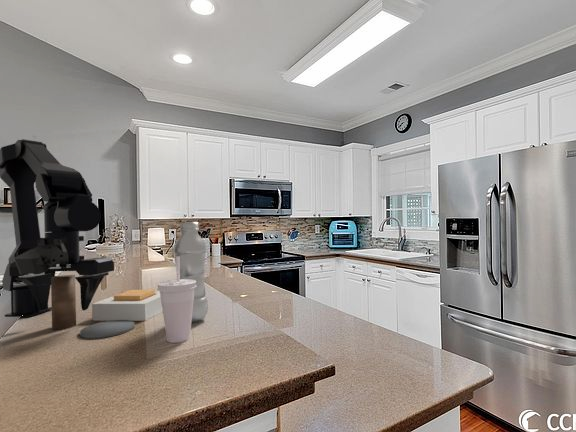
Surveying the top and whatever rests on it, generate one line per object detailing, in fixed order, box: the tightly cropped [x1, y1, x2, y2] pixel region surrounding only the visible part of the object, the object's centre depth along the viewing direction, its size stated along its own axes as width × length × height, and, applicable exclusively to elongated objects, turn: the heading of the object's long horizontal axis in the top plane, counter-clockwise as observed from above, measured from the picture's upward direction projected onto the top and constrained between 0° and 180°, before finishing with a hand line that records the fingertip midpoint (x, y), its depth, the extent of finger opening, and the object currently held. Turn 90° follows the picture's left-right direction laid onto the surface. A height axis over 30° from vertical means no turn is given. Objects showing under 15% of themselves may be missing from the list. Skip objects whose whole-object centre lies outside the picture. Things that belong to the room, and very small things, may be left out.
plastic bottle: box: [173, 221, 209, 323], centre depth 67 cm, size 6×7×20 cm
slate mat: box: [79, 320, 136, 340], centre depth 62 cm, size 9×9×1 cm
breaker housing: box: [91, 290, 163, 322], centre depth 74 cm, size 12×12×4 cm
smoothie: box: [157, 257, 196, 344], centre depth 56 cm, size 6×6×14 cm
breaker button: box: [113, 289, 156, 300], centre depth 74 cm, size 6×6×1 cm
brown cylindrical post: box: [50, 274, 77, 331], centre depth 66 cm, size 4×4×10 cm
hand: (63, 309), depth 66 cm, fingers open, 9 cm apart
